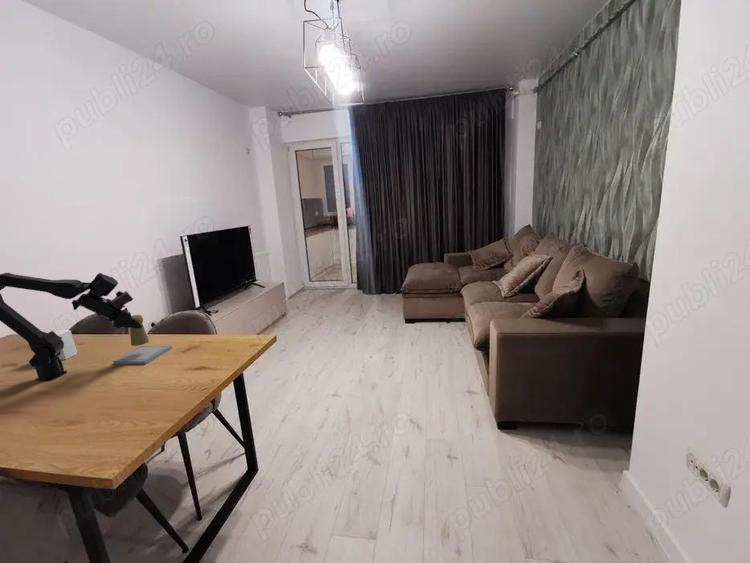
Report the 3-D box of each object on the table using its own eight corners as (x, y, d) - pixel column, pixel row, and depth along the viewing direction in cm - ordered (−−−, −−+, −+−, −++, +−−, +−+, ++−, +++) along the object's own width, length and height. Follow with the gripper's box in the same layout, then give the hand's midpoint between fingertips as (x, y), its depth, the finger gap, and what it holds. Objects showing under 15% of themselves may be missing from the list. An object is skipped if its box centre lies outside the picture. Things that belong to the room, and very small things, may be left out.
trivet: (146, 364, 135) (145, 360, 135) (113, 364, 138) (112, 360, 138) (172, 348, 149) (171, 345, 149) (142, 348, 151) (141, 345, 151)
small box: (78, 353, 151) (71, 330, 149) (65, 359, 146) (58, 335, 143) (60, 354, 152) (53, 330, 150) (47, 360, 147) (40, 335, 144)
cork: (132, 341, 144) (126, 315, 141) (150, 338, 146) (144, 312, 143) (129, 347, 138) (123, 319, 136) (148, 343, 141) (142, 316, 138)
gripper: (117, 290, 127) (159, 312, 137) (111, 283, 141) (150, 303, 151) (94, 317, 124) (139, 338, 134) (91, 307, 138) (131, 327, 148)
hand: (140, 325), depth 141 cm, fingers closed on cork, 5 cm apart
